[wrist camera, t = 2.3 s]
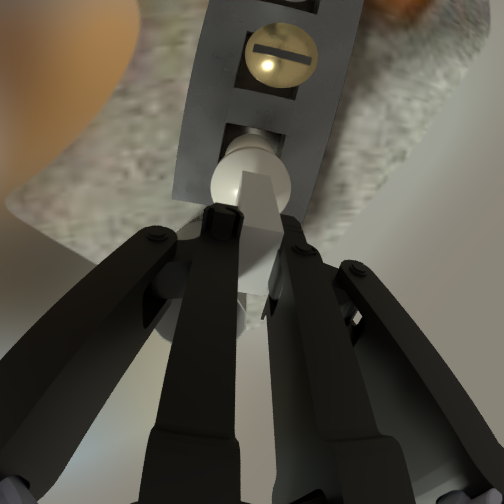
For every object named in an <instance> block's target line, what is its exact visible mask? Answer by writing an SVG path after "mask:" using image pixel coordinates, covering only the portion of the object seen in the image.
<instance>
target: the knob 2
mask: <svg viewBox="0 0 504 504" xmlns="http://www.w3.org/2000/svg"><path fill="white" fill-rule="evenodd" d="M286 1H290V2H302V1H306V0H286Z"/></svg>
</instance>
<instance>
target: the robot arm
mask: <svg viewBox="0 0 504 504" xmlns="http://www.w3.org/2000/svg"><path fill="white" fill-rule="evenodd" d="M268 286H269V294H268V297H267V300H266V304H265V307H264V310H263V313H262V316H261V320H264V317H265V315H266V317H267V330H268V345H269V359H270V374H271V389H272V403H273V420H274V436H275V450H276V469H277V475H276V481H275V484H274V487H273V492H272V504H504V448H503V447H502V446H501V445H500V444H499V443H498V441H497V439H496V438H495V436H494V434H493V433H492V431H491V430H490V428H489V426H488V425H487V423H486V422H485V420H484V418H483V417H482V415H481V414H480V412H479V411H478V409H477V407H476V406H475V405H474V403H473V401H472V400H471V399H470V397H469V395H468V394H467V393H466V391H465V390H464V388H463V387H462V385H461V384H460V382H459V381H458V380H457V378H456V377H455V375H454V374H453V372H452V371H451V370H450V368H449V367H448V365H447V364H446V363H445V362H444V360H443V359H442V357H441V356H440V355H439V353H438V352H437V351H436V349H435V348H434V346H433V345H432V344H431V343H430V341H429V340H428V339H427V337H426V336H425V335H424V333H423V332H422V331H421V330H420V328H419V327H418V326H417V324H416V323H415V322H414V321H413V319H412V318H411V317H410V316H409V314H408V313H407V312H406V311H405V309H404V308H403V307H402V306H401V305H400V303H399V302H398V301H397V300H396V299H395V297H394V296H393V295H392V294H391V292H390V291H389V290H388V289H387V288H386V287H385V285H384V284H383V283H382V282H381V281H380V280H379V278H378V277H377V276H376V275H375V274H374V273H373V271H372V270H371V269H369V268H368V267H367V266H366V265H364V264H363V263H361V262H358V261H356V260H355V261H354V260H344V261H343V262H341V265H340V267H339V269H338V268H336V267H333V266H330V265H328V264H325V263H323V261H322V258H321V255H320V253H319V252H318V250H317V249H316V248H314V247H313V246H311V245H309V244H307V241H306V238H305V236H304V234H303V230H302V227H301V224H300V222H299V221H298V220H297V219H296V218H295V217H294V216H289V215H284V214H280V213H279V209H278V205H277V201H276V197H275V193H274V189H273V185H272V181H271V177H270V176H268V175H263V174H258V173H253V172H248V171H243V170H242V175H241V179H240V184H239V188H238V193H237V198H236V203H235V206H234V205H228V204H223V203H217V202H215V203H214V204H212V205H210V206H207V207H206V208H205V209H204V213H203V220H202V226H201V232H200V236H198V237H196V238H194V239H188V240H178V237H177V234H176V233H175V232H174V231H173V230H171V229H169V228H167V227H162V226H158V225H157V226H156V225H155V226H149V227H145V228H143V229H141V230H139V231H138V232H137V233H136V234H134V235H133V236H132V237H131V238H129V239H128V240H127V241H126V242H125V243H123V244H122V245H121V246H120V247H119V248H117V249H116V250H115V251H114V252H113V253H111V254H110V255H109V256H108V257H107V258H105V259H104V260H103V261H102V262H101V263H100V264H98V265H97V266H96V267H95V268H94V269H93V270H92V271H90V272H89V273H88V274H87V275H86V276H85V277H84V278H83V279H81V280H80V281H79V282H78V283H77V284H76V285H75V286H74V287H73V288H72V289H70V291H68V292H67V293H66V294H65V295H64V296H63V297H62V298H61V299H60V300H59V301H58V302H57V303H56V304H54V305H53V306H52V307H51V308H50V309H49V310H48V311H47V312H46V313H45V314H44V315H43V316H42V317H41V318H40V319H39V320H38V321H37V322H36V323H35V324H34V325H33V326H32V327H31V328H30V329H29V330H28V331H27V332H26V334H24V335H23V336H22V337H21V338H20V340H19V341H18V342H17V343H16V344H15V345H14V346H13V347H12V348H11V349H10V350H9V351H8V352H7V353H6V354H5V356H4V357H3V358H2V359H1V360H0V504H38V503H37V501H38V500H39V499H40V498H42V497H43V496H44V495H45V494H46V493H47V492H48V491H49V489H50V488H51V487H52V486H53V485H54V484H55V482H56V481H57V479H58V478H59V476H60V475H61V473H62V472H63V471H64V469H65V467H66V466H67V464H68V462H69V461H70V459H71V457H72V456H73V454H74V452H75V451H76V449H77V447H78V445H79V444H80V442H81V441H82V439H83V437H84V436H85V434H86V433H87V431H88V429H89V428H90V426H91V424H92V423H93V421H94V420H95V418H96V417H97V415H98V413H99V412H100V410H101V409H102V407H103V405H104V404H105V402H106V401H107V399H108V398H109V396H110V395H111V393H112V392H113V390H114V388H115V387H116V385H117V384H118V382H119V381H120V379H121V378H122V376H123V375H124V373H125V372H126V370H127V369H128V367H129V365H130V364H131V363H132V361H133V360H134V358H135V357H136V355H137V354H138V352H139V351H140V349H141V347H142V346H143V345H144V343H145V342H146V340H147V339H148V337H149V336H150V334H151V333H152V331H153V330H154V328H155V327H156V326H157V324H158V323H159V321H160V320H161V318H162V317H163V315H164V314H165V313H166V311H167V310H168V308H169V307H170V305H171V303H172V300H173V299H180V298H183V299H182V303H181V307H180V312H179V316H178V320H177V324H176V328H175V332H174V337H173V341H172V345H171V350H170V354H169V359H168V363H167V368H166V373H165V377H164V382H163V387H162V392H161V398H160V402H159V407H158V412H157V417H156V422H155V425H154V427H153V428H152V429H151V432H150V435H149V439H148V443H147V448H146V454H145V461H144V466H143V472H142V478H141V485H140V492H139V499H138V501H137V502H134V503H131V504H250V503H245V502H242V501H241V500H240V499H241V496H240V495H241V494H240V447H239V442H238V441H237V439H236V438H235V429H234V426H235V375H236V335H237V300H238V292H243V293H249V294H256V295H262V296H265V294H266V290H267V287H268ZM357 311H359V312H360V314H361V315H362V318H361V320H360V321H359V323H358V324H357V325H356V324H355V322H354V321H353V318H354V316H355V315H356V313H357Z"/></svg>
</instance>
